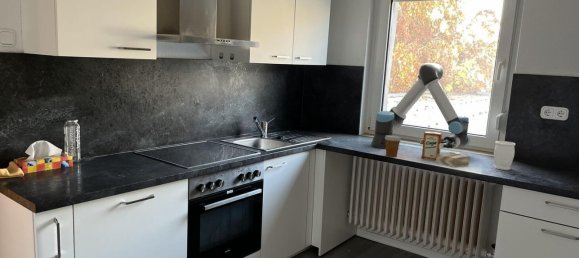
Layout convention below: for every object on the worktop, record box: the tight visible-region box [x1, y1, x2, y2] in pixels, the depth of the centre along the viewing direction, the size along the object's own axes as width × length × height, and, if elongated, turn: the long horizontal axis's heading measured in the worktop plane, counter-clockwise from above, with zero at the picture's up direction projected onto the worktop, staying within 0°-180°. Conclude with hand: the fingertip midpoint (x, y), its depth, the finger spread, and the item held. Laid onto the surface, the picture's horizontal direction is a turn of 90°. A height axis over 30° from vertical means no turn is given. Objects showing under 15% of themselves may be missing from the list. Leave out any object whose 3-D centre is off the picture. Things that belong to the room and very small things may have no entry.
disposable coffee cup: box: [385, 134, 401, 158], centre depth 273 cm, size 10×10×12 cm
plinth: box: [435, 151, 471, 168], centre depth 260 cm, size 12×14×5 cm
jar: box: [493, 140, 516, 171], centre depth 253 cm, size 11×10×15 cm
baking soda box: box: [421, 131, 443, 161], centre depth 271 cm, size 10×6×16 cm
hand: (429, 144), depth 269 cm, fingers open, 13 cm apart
